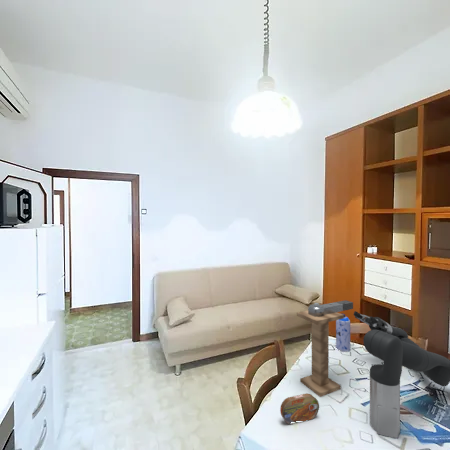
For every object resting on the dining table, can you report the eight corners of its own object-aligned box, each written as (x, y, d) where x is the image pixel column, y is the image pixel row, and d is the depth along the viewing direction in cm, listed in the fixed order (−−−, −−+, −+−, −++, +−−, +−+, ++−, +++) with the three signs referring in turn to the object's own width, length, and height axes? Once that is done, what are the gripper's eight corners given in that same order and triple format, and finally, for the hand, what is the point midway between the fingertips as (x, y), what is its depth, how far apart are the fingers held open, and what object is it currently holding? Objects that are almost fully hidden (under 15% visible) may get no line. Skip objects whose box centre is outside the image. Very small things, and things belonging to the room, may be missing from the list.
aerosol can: (332, 346, 158) (332, 312, 158) (345, 345, 159) (345, 311, 159) (340, 352, 150) (340, 316, 150) (353, 351, 152) (353, 315, 152)
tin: (283, 426, 96) (283, 403, 96) (279, 420, 99) (279, 397, 99) (319, 418, 100) (319, 395, 100) (314, 412, 103) (314, 390, 103)
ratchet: (344, 305, 131) (344, 295, 131) (354, 309, 126) (354, 298, 126) (306, 313, 120) (306, 302, 120) (316, 317, 115) (316, 306, 115)
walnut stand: (322, 374, 129) (322, 307, 129) (343, 387, 118) (343, 315, 118) (296, 383, 122) (296, 312, 122) (316, 398, 111) (316, 321, 111)
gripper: (392, 339, 131) (373, 327, 125) (365, 329, 144) (347, 318, 138) (396, 325, 133) (378, 312, 127) (370, 316, 146) (352, 304, 139)
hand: (362, 315), depth 132 cm, fingers open, 8 cm apart
